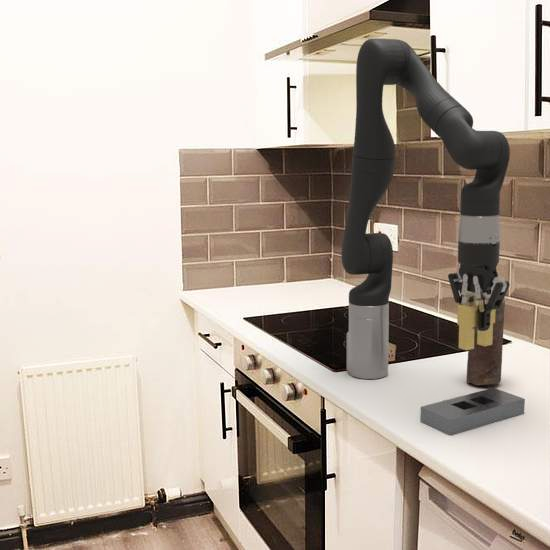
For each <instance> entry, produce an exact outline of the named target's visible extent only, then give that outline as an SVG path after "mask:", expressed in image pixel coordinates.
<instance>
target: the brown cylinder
mask: <svg viewBox="0 0 550 550" xmlns="http://www.w3.org/2000/svg"><path fill="white" fill-rule="evenodd" d="M482 294H483V295H485V294H486V293H482ZM485 300H486V299H485ZM476 301H478V300H477V299H476ZM505 306H506V300H505V299H504V300H503V302H502V304H501V307H500V308H499V309H496V311H495V323H493V340H492V345H489V346H482V345H479V344H477V334H478V326H475V329H474V349H470V350H467V362H466V363H467V364H466V380H465V381H466V383H468V384H469V383H470V384H472V385H475V386H487V387H490V386H491V387H492V386H496V385H498V384H499V383H500V382H501V380H502V363H503V347H504V346H503V345H504V341H503V340H504V325H505V323H504V322H505V308H506V307H505Z"/></svg>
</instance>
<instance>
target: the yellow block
mask: <svg viewBox="0 0 550 550" xmlns="http://www.w3.org/2000/svg"><path fill="white" fill-rule="evenodd" d="M485 305H486V300H485ZM495 311H496V309H495V310H492V311H491V319H490V327H489V329H488V330H486V331H479V330H478V334H477V344H479V345H482V346H489V345H492V340H493V323H495ZM479 312H480V310H479V304H478V301H473V302H468V303H462V304H460V303H457V315H456V317H457V320H456V321H457V322H456V324H457V326H458V349H461V350H464V351H468V350H470V349H474V329H475V326H478V315H479Z"/></svg>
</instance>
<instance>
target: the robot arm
mask: <svg viewBox="0 0 550 550" xmlns="http://www.w3.org/2000/svg"><path fill="white" fill-rule="evenodd" d="M355 71H356V73H355V74H356V76H355V78H356V79H355V83H356V84H355V91H356V93H355V94H356V95H355V97H356V104H355V105H356V106H355V107H356V110H355V112H356V113H355V114H356V115H355V116H356V117H355V128H354V131H355V132H354V142H353V150H352V160H351V174H350V178H351V179H350V186H349V187H350V189H349V190H350V191H349V200H348V208H347V216H346V219H345V225H344V232H343V238H342V242H341V243H342V244H341V253H340V254H341V255H340V256H341V264H342V268H343V270H344V271H345V272H346V273H347V274H349V275H351V276H353V275H357V276H358V275H367V277H366V278H365V279H364V280H363V282H361V283H360V284H357V285H356V286H354V287H352V288H350V290H349V292H348V331H347V333H346V371H347V372H348V375H350V376H352V377H353V378H358V379H363V380H364V379H365V380H374V379H375V380H376V379H382V378H385V377H387V376H388V375H389V327H390V326H389V325H390V324H389V316H390V313H389V311H390V310H389V309H390V307H389V306H390V305H389V304H390V302H389V301H390V300H389V299H390V295H391V291H392V282H393V281H392V278H393V265H394V264H393V263H394V250H393V244H392V242H391V241H392V240H391V239H390V238H389V236H388V235H387V234H386V233H383V232H372V233H371V232H370V233H366V232H367V227H368V225H369V222H370V221H369V220H370V217H371V215H372V213H373V211H374V209H375V208H376V206H377V205H378V203H380V200H381V199H382V198H383V197H384V195H385V193H386V192H387V190H388V189H389V187H390V185H391V184H392V180H393V178H394V172H395V171H394V170H395V164H396V163H395V162H396V161H395V160H396V145H395V141H394V139H393V138H394V137H393V134H392V133H391V130H390V128H389V126H388V123H387V121H386V119H385V115H384V110H383V96H384V95H383V93H384V86H395V85H397V86H399V87H401V88H403V89H405V90H406V91H407V92H408V93H410V94H411V95H412V97H413V99H414V100H415V104H416V108H417V112H418V114H419V117H420V118H421V120H422V121H423V122H424V123H425V124H426V126H428V127H429V128H430V130H432V131H433V133H435V134H436V136H438V137H439V138H440V139H441V141H442V144H443V145H444V147H445V149H446V151H447V152H448V155H449V156H450V158H451V159H452V160H453V162H454V163H455V164H457V165H458V166H460V167H461V168H462V169H465V170H468V171H469V170H470V171H472V170H473V171H474V170H475V175H474V177H473V180H472V181H471V182H469V183H466V184H465V185H463V186H462V188H461V190H460V206H459V207H460V213H459V214H460V215H459V223H458V230H457V231H458V232H457V233H458V238H457V239H458V240H457V262H458V264H459V268H458V271H457V272H453V273H449V274H447V278H448V282H449V284H450V288H451V292H452V295H453V299H454V302H455V303H456V304H462V303H468V302H473V301H476V299H477V300H478V304H479V310H480V312H479V315H478V330H479V331H486V330H488V329H489V327H490V319H491V311H492V310H495V309H499V308H500V307H501V304H502V302H503V300H505V297H506V295H507V293H508V290H509V287H510V285H511V284H510V282H509V281H508V280H505V281H504V280H502V279H501V278H500V277H499V273H498V271H497V266H498V264H499V263H500V249H501V248H500V247H501V246H500V242H501V241H500V240H501V223H500V207H501V206H500V205H501V204H500V203H501V202H500V201H501V200H500V199H501V197H500V193H501V190H502V188H503V184H504V181H505V177H506V175H507V174H506V173H507V170H508V167H509V163H510V157H511V149H510V143H509V141H508V138H507V137H506V135H504V133H502V132H500V131H497V130H476V129H474V128H473V127H474V119H473V115H472V114H471V113H470V111H469V110H468V109H466V108H465V106H463V105H462V104H461V103H460V102H459V101H458V100H456V99H455V98H454V97H453V96H452V94H450V93H449V92H447V90H446V89H445V88H444V87H443V86H442V85H441V84H440V83H439V82H438V80H436V78H435V77H434V75H433V74H432V73H431V71H430V70H429V69H428V67H427V66H426V65H425V64H424V62H423V61H422V59H421V58H420V56H418V54H417V53H416V51H415V50H414V49H413V47H412V46H410V45H409V44H408V43H407V42H406V41H404V40H402V39H397V38H369V39H366V40H365V41H363V43H362V45H361V46H360V48H359V50H358V53H357V60H356V68H355ZM482 293H485V295H483V294H482ZM485 299H486V305H485Z"/></svg>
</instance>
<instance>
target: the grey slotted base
mask: <svg viewBox="0 0 550 550" xmlns="http://www.w3.org/2000/svg"><path fill="white" fill-rule="evenodd" d="M525 404H526V401H525V398H523V397H521V396H518V395H515V394H513V393H509V392H507V391H504V390H501V389H498V388H496V387H490V388H486V389H483V390H479V391H476V392H472V393H467V394H465V395H460V396H457V397H453V398H449V399H446V400H445V399H444V400H441V401H438V402H433V403H430V404H426V405H423V406H420V422H421V423H423V424H425V425H428V426H430V427H431V428H432V429H436V430H437V431H440V432H442V433H444V434H447V435H448V436H454V435H456V434H459V433H462V432H463V433H464V432H466V431H469V430H473V429H476V428H479V427H482V426H486V425H490V424H493V423H496V422H499V421H503V420H506V419H510V418H512V417H513V418H514V417H516V416H519V415H523V414H525Z"/></svg>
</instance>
